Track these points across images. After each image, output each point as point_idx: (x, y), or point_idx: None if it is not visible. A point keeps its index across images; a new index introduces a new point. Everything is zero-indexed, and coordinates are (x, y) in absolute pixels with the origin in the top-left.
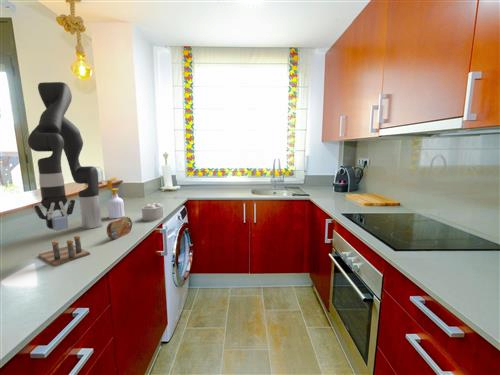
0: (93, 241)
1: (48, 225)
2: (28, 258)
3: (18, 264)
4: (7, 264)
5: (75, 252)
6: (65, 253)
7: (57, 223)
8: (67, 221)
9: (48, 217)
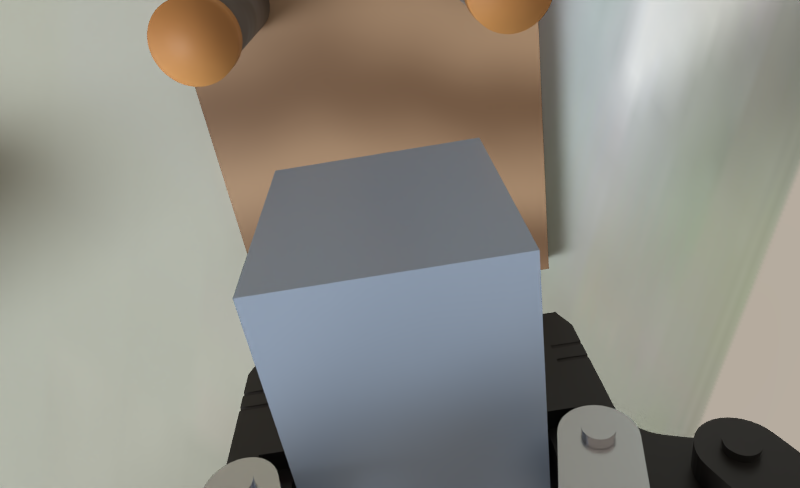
0: (76, 304)
1: (570, 342)
2: (612, 264)
3: (707, 175)
4: (752, 242)
5: (275, 33)
6: (365, 91)
7: (470, 201)
8: (254, 238)
9: (623, 455)
